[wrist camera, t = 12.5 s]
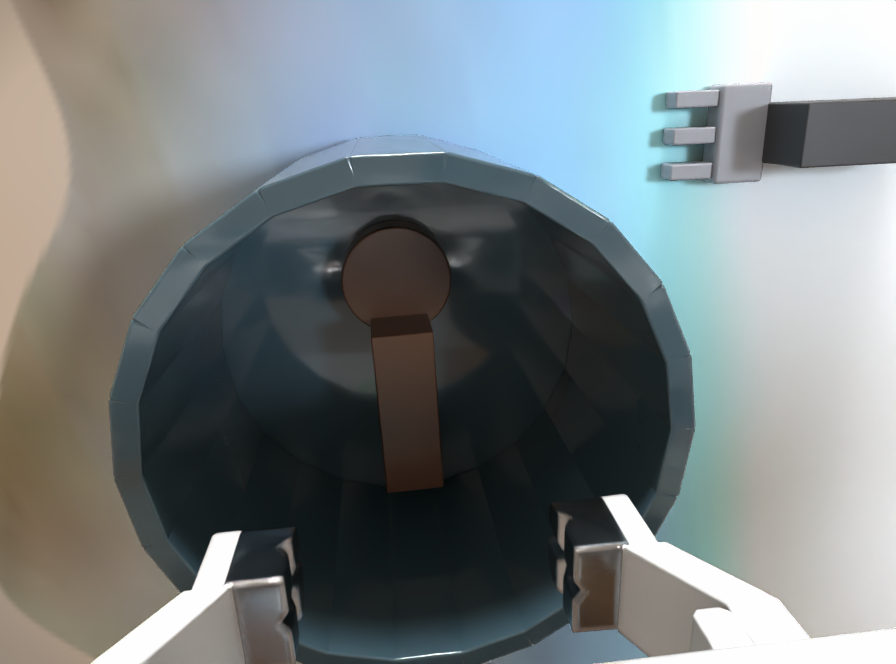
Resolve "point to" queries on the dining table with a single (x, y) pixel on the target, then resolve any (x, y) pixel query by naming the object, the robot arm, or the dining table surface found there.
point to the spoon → (402, 342)
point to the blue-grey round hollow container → (356, 408)
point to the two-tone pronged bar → (778, 133)
